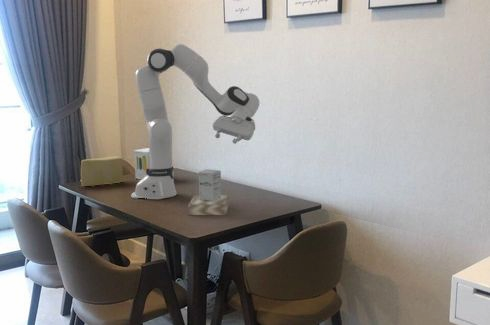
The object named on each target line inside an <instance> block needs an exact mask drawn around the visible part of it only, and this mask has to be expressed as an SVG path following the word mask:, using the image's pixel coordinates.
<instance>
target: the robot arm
mask: <svg viewBox="0 0 490 325" xmlns="http://www.w3.org/2000/svg"><path fill="white" fill-rule="evenodd" d="M146 58H147V60H146V62H147V64H146V65H144V66H141V67H140V68H138V69H137V70H136V72H135V83H136V89H137V92H138V96H139V97H138V98H139V100H140V105H141V108H142V113H143V116H144V120H145V124H146V128H147V131H148V148H149V158H150V167H148V168H147V169H146V174H147V175H146V176H145V177H144V178H143V179H141V180H138V182H137V183H136V185H135V191H133V192H132V193H131V195H130V198H131V197H132V198H131V199H138V198H145V199H144V200H162V199H166V198H172V197H175V196H176V195H178V193H177V190H176V185H175V181H174V178H175V172H174V171H175V170H174V166H173V152H172V151H173V127H172V124H171V123H170V121H169V118H168V113H167V108H166V102H165V98H164V95H163V90H162V87H161V83H160V74H162V73H165V72H166V71H168V70H169V69H170V68H171V67H176V68H178V69H179V70H180V71H182V72H183V73H184V74H185V75H186V76H188V78H189V79H190V80H191V81H192V84H193V85H194V86H195V87H196V89H198V91H199V92H200V93H202V95H203V96H204V97H205V98H207V100H208V101H209V102H210V103H211V104H212V105H213V107H215V110H216V111H217V112H218V113H219V114H220V115H219V116H218V117H217V119H216V120H214V122H213V123H212V128H213V130H214V131H215V132H216V133H215V135H214V136H215V138H216V139H220V137H221V133H223V134H225V135H229V136H232V137H235V138H233V140H232V144H235V145H236V144H237V143H238V142H240V141H242V140H245V141H249V140H251V139H252V138H253V135H254V132H255V130H256V123H255V120H254V118H253V117H254V116H255V114H256V113H257V111H258V109H259V107H260V99H259V97H258V96H257V95H256V94H255V93H251V92H250V93H249V92H246V91H244V90H243V89H242V88H240V86H236V85H235V86H234V85H232V86H230V87H229V88H227V90H226V91H225V92H224V93H223V94H221V93H220V92H218V90H217V89H215V87H214V86H213V85H212V84H211V83H210V82H209V65H208V62H207V61H206V60H205V59H204V58H203V57H202V56H201V55H200V54H199V53H197V52H196V51H194V49H192V48H190V47H188V46H187V45H184V44H182V43H180V44H177V45H175V46H174V47H173V48H171V50H169V49H164V48H162V47H159V48H155V49H153V50H151V51H150V52H149V53H148V55H147V57H146ZM146 198H147V199H146Z"/></svg>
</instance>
